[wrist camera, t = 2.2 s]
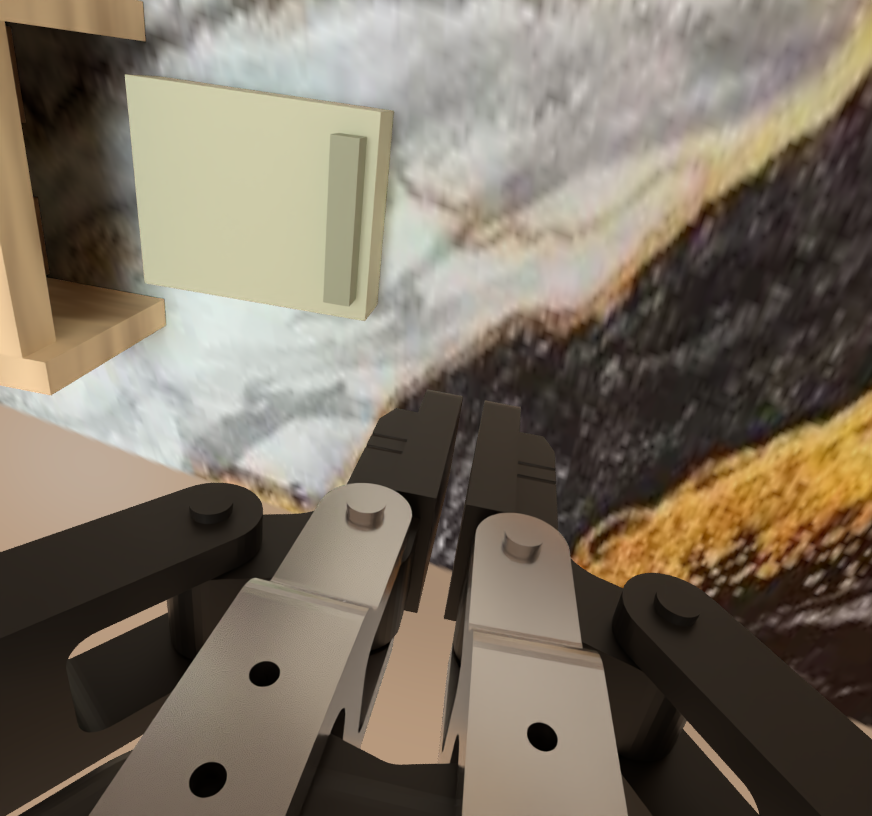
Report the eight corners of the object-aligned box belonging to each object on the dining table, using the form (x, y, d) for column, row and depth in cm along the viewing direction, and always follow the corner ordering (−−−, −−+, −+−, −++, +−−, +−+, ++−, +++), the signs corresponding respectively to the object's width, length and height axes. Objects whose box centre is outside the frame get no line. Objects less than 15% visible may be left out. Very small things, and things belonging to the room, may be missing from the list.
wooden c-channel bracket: (142, 1, 27) (-25, -39, 19) (165, 325, 34) (50, 395, 26) (-28, -24, 27) (-261, -75, 19) (29, 299, 34) (-125, 360, 26)
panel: (395, 110, 28) (373, 112, 24) (379, 302, 32) (358, 329, 28) (162, 76, 28) (107, 73, 25) (176, 268, 33) (130, 289, 29)
